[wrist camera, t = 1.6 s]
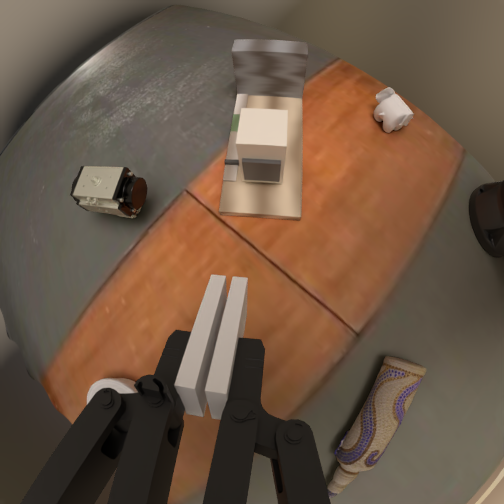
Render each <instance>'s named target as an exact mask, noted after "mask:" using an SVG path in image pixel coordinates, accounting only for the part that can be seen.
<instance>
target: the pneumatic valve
mask: <svg viewBox="0 0 504 504" xmlns="http://www.w3.org/2000/svg"><path fill="white" fill-rule="evenodd" d="M70 195H71V196H72V197H73V198H74V200H75V201H77V203H76V204H77V205H79V206H80V207H82V208H83V209H85V210H86V211H92V212H100V213H107V214H114V215H118V217H125V218H132V219H134V218H136V217H137V215H136V214H137V213H139V212H140V210H141V207H142V206H143V204H144V202H145V199H146V195H147V184H146V182H145V180H144V179H143V178H140V177H135V175H134V174H133V173H132V172H131V171H130V170H129V169H128V168H126V167H93V166H81V168H80V171H79V173H78V176H77V177H76V178H75V180H74V182H73V184H72V191H71V194H70Z"/></svg>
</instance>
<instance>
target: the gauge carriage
mask: <svg viewBox="0 0 504 504" xmlns="http://www.w3.org/2000/svg"><path fill="white" fill-rule="evenodd" d="M287 120H288V110H277V109H258V108H241V113H240V119H239V126H238V132H237V139H236V148H237V153H238V159H239V160H231V159H225V164H239V165H240V170H241V176H242V181H247V182H264V183H278V184H282V183H283V175H284V166H285V157H286V148H287Z"/></svg>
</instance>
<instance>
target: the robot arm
mask: <svg viewBox="0 0 504 504" xmlns="http://www.w3.org/2000/svg"><path fill="white" fill-rule="evenodd" d="M469 211H470V218H471V223H472V226H473V229H474V232H475V234H476V237H477V239H478V241H479V242H480V244H481V245H482V247H483V248H484V249H485V250H486V251H487V252H488V253H489V254H490V255H492V256H494V257H501V256H504V181H500V182H494V183H487V184H483V185H481V186H480V187H478V188H477V189H475V190H474V191H473V193H472V195H471V198H470V204H469ZM247 284H248V278H244V277H233V278H232V282H231V286H230V290H229V294H228V298H227V292H226V276H221V275H211V277H210V280H209V283H208V286H207V289H206V291H205V294H204V297H203V300H202V303H201V306H200V309H199V312H198V314H197V317H196V320H195V323H194V326H193V329H192V332H187V331H181V330H175V331H174V332H173V333H172V334H171V335H170V336H169V337H168V340H167V342H166V345H165V348H164V350H163V353H162V356H161V358H160V360H159V363H158V366H157V368H156V371H155V374H154V375H146V376H143V377H141V378H140V379H138V380H137V381H136V383H135V384H134V387H135V388H136V390H137V391H138V392H137V393H118V392H117V391H116V390H115V389H112V388H102V389H100V390H99V391H97V392H96V393H95V395H94V396H93V397H92V399H91V400H90V401H89V403H88V404H87V405H86V407H85V408H84V410H83V411H82V412H81V414H80V415H79V417H78V418H77V419H76V421H75V422H74V424H73V425H72V426H71V428H70V429H69V431H68V432H67V434H66V435H65V436H64V438H63V439H62V441H61V442H60V444H59V445H58V447H57V448H56V449H55V451H54V453H53V454H52V455H51V457H50V458H49V460H48V461H47V463H46V464H45V466H44V467H43V469H42V470H41V472H40V473H39V475H38V476H37V478H36V480H35V481H34V483H33V484H32V486H31V487H30V489H29V491H28V492H27V494H26V496H25V497H24V499H23V501H22V502H21V504H94V503H95V502H96V500H97V499H98V497H99V495H100V494H101V492H102V490H103V489H104V487H105V486H106V484H107V482H108V481H109V479H110V478H111V476H112V474H113V473H114V471H115V470H116V468H117V470H116V473H115V477H114V481H113V485H112V488H111V492H110V496H109V500H108V504H167V501H168V496H169V491H170V486H171V481H172V477H173V472H174V467H175V463H176V458H177V454H178V449H179V445H180V440H181V436H182V431H183V427H184V420H183V415H184V411H186V413H187V414H190V415H195V416H201V417H204V413H205V409H206V404H207V401H208V405H209V409H210V413H211V417H212V418H213V419H219V420H221V421H220V426H219V430H218V435H217V440H216V444H215V449H214V454H213V459H212V463H211V468H210V473H209V477H208V482H207V487H206V491H205V496H204V500H203V504H246V501H247V495H248V489H249V482H250V475H251V469H252V462H253V455H254V452H255V453H258V454H260V455H263V456H266V457H268V458H270V460H271V466H272V472H273V477H274V483H275V488H276V494H277V499H278V504H331V503H330V499H329V495H328V491H327V487H326V483H325V479H324V475H323V471H322V467H321V463H320V459H319V455H318V451H317V448H316V444H315V440H314V436H313V432H312V430H311V428H310V426H309V425H308V424H306V423H305V422H303V421H300V420H288V421H285V420H282V419H279V418H276V417H274V416H272V415H270V414H268V413H267V412H266V411H265V410H264V409H263V407H262V405H261V399H260V397H261V387H262V376H263V365H264V354H265V348H264V346H263V343H262V341H261V340H260V339H249V338H243V335H244V329H245V323H246V317H247Z"/></svg>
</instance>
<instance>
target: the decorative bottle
mask: <svg viewBox="0 0 504 504" xmlns="http://www.w3.org/2000/svg"><path fill="white" fill-rule="evenodd" d="M425 373H426V368H425V367H423V366H421V365H419V364H416V363H413V362H410V361H407V360H404V359H400V358H396V357H391V356H386V357H385V359H384V361H383V365H382V367H381V369H380V371H379V374H378V376H377V379H376V381H375V383H374V385H373V388H372V389H371V392H370V394H369V396H368V398H367V400H366V401H365V403H364V405H363V408H362V409H361V411H360V413H359V415H358V417H357V418H356V420H355V422H354V424H353V426H352V427H351V429H350V431H347V432H346V433H345V436H344V438H343V439H342V440H341V442H340V445H339V446H338V448H337V449H336V450H335V453H334V454H335V455H336V458H337V460H338V462H339V463H340V465H339V466H338V467H337V469H336V471H335V473H334V476H333V479H332V480H331V482H330V483H329V485H328V490H327V491H328V495H329V498H332V497H334V496H336V495H337V494H338V493H341V492H342V491H343V490H344V488H345V487H346V486H347V484H349V483H350V482H352V481H353V480H354V479H355V478H356V477H357V475H358V473H359V471H366V470H370V469H372V468H373V467H374V466H375V464H376V463H377V461H378V460H379V459H380V457H381V456H382V454H383V453H384V451H385V449H386V448H387V446H388V445H389V443H390V441H391V439H392V438H393V436H394V434H395V432H396V431H397V429H398V427H399V426H400V424H401V421H402V419H403V417H404V415H405V414H406V411H407V409H408V408H409V406H410V404H411V402H412V400H413V398H414V395H415V393H416V391H417V389H418V386H419V384H420V382H421V380H422V377H423V376H424V375H425ZM336 451H337V452H336Z"/></svg>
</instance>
